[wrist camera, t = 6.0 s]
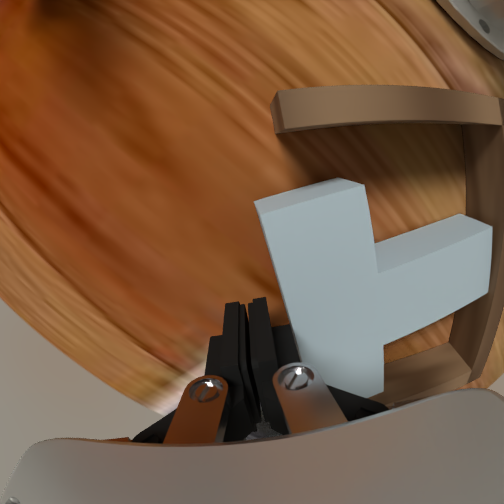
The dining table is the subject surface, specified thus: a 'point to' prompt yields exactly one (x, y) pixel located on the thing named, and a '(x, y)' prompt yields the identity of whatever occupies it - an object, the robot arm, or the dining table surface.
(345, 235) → the t block
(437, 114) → the corral
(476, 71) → the dining table surface
